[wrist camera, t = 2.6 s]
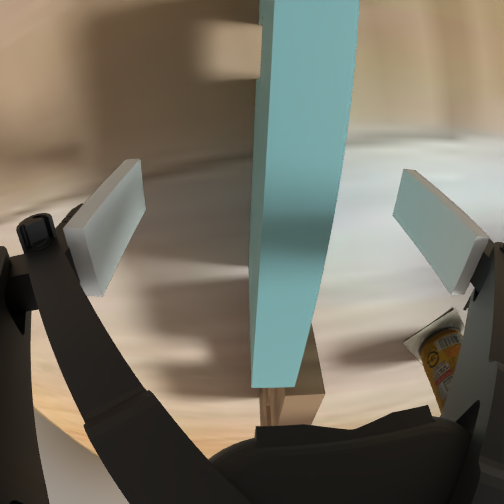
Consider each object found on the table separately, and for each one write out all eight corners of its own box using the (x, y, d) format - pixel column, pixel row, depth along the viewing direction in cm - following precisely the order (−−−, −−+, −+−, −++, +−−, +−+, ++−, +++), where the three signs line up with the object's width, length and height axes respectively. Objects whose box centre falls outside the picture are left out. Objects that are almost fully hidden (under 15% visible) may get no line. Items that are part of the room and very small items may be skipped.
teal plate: (259, -8, 14) (277, -73, 5) (300, -4, 14) (360, -59, 5) (248, 266, 26) (251, 387, 17) (278, 266, 26) (294, 386, 17)
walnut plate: (272, 276, 26) (285, 395, 17) (301, 276, 26) (325, 393, 17) (259, 397, 38) (262, 477, 29) (278, 397, 38) (284, 476, 29)
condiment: (423, 365, 36) (451, 442, 26) (401, 341, 32) (435, 433, 23) (468, 336, 33) (504, 410, 23) (454, 306, 30) (500, 394, 20)
